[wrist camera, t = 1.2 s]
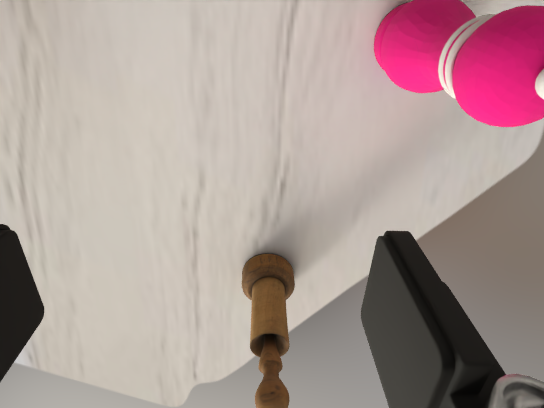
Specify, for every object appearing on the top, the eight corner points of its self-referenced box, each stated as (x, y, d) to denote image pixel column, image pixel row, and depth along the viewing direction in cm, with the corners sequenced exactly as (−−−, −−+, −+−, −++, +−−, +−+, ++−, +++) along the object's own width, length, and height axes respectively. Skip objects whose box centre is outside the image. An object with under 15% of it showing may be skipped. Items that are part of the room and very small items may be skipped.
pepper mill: (401, -23, 31) (590, -53, 13) (464, 23, 32) (703, 49, 15) (352, 57, 34) (454, 119, 16) (413, 95, 35) (561, 186, 18)
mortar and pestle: (231, 271, 46) (217, 413, 30) (270, 244, 44) (276, 379, 28) (265, 300, 48) (269, 444, 33) (303, 275, 46) (327, 415, 31)
